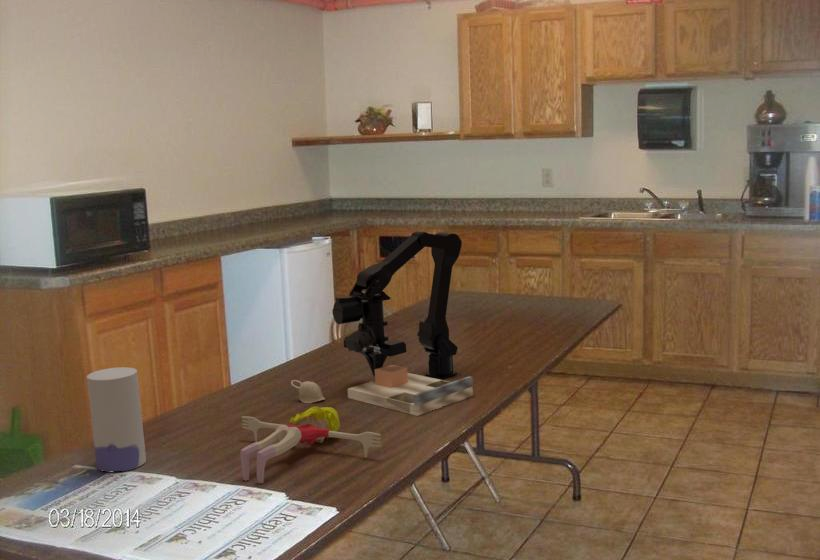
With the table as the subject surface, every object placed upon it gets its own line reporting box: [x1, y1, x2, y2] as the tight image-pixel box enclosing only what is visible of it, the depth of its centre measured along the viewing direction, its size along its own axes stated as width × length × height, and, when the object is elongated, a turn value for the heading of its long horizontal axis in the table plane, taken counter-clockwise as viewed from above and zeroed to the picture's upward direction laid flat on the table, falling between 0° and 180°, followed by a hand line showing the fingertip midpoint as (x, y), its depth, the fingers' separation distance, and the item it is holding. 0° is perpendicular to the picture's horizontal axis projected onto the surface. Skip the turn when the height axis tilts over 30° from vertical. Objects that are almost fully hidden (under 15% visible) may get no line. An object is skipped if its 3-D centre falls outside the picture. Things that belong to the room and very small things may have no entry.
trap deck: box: [347, 372, 474, 417], centre depth 226 cm, size 20×25×5 cm
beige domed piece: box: [290, 379, 326, 404], centre depth 227 cm, size 4×8×5 cm, turn 64°
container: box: [86, 366, 147, 472], centre depth 186 cm, size 10×10×20 cm
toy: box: [239, 406, 382, 484], centre depth 190 cm, size 28×28×9 cm
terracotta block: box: [374, 364, 409, 388], centre depth 230 cm, size 6×6×4 cm
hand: (376, 376), depth 235 cm, fingers closed
